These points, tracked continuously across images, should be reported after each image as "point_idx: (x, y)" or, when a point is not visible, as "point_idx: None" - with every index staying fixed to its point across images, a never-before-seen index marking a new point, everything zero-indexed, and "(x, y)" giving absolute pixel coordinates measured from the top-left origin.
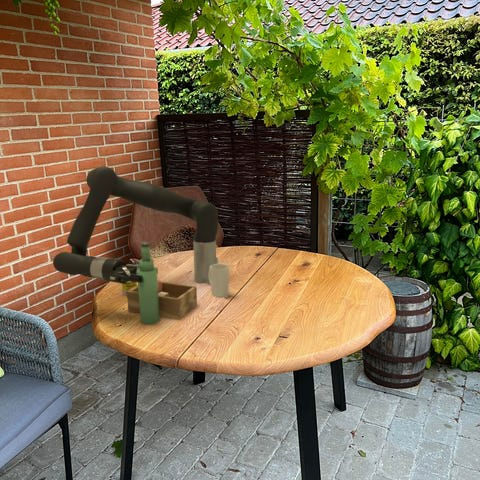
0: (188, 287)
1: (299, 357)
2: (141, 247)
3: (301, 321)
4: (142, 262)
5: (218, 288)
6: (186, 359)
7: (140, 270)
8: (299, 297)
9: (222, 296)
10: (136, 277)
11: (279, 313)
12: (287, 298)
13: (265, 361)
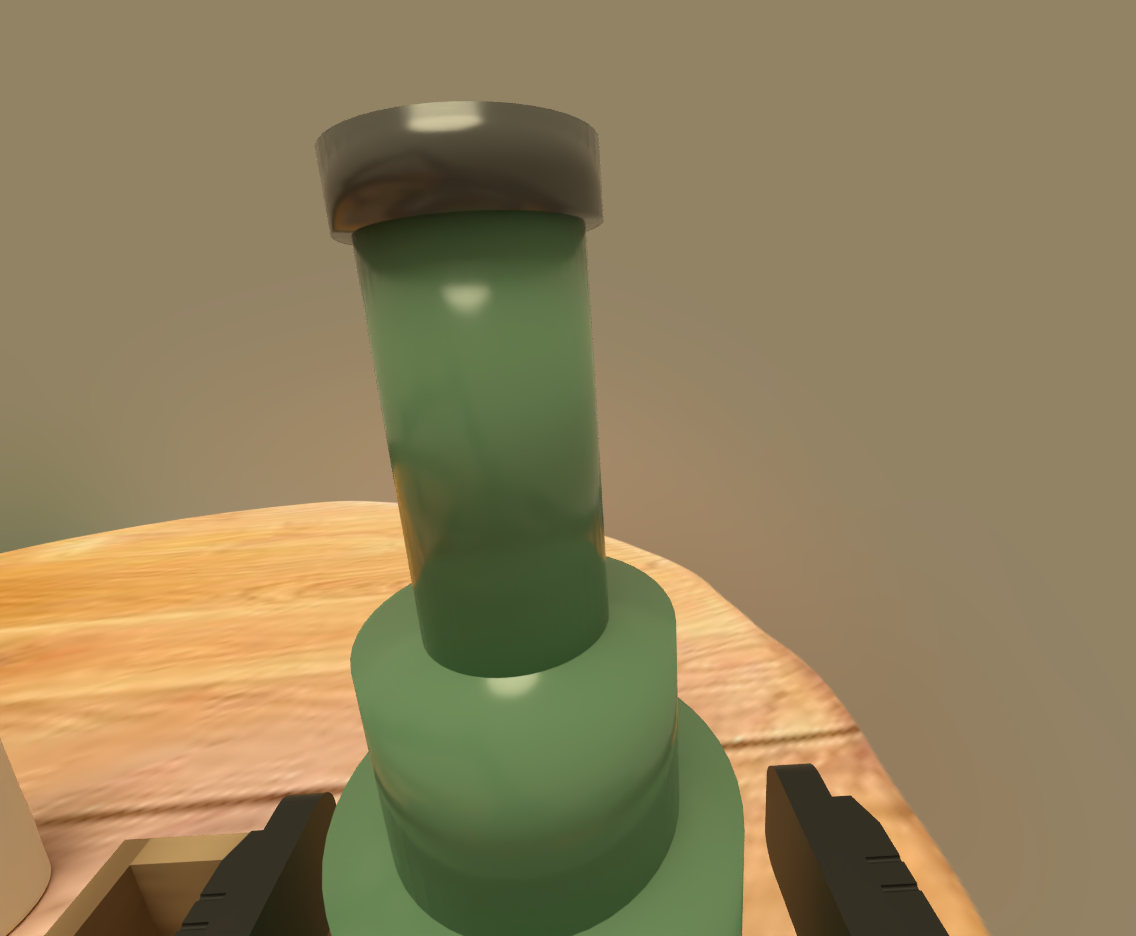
0: (93, 922)
1: (606, 538)
2: (556, 273)
3: (398, 572)
4: (672, 608)
5: (12, 829)
6: (830, 706)
7: (670, 843)
8: (178, 613)
9: (45, 857)
10: (881, 846)
11: (333, 617)
12: (176, 634)
13: (665, 566)
